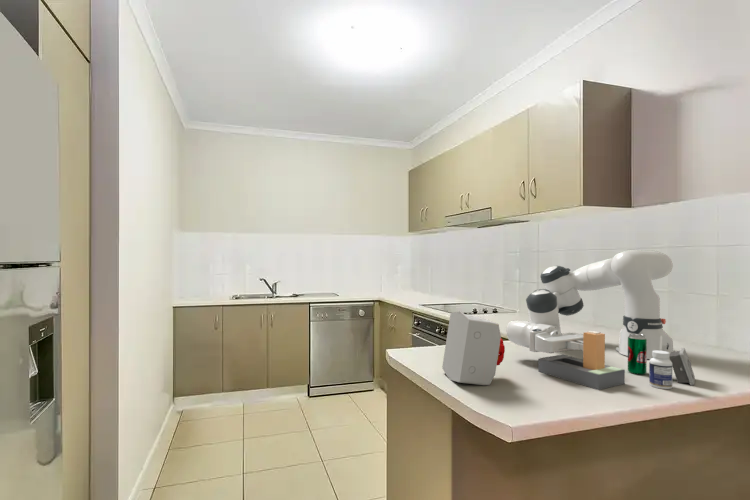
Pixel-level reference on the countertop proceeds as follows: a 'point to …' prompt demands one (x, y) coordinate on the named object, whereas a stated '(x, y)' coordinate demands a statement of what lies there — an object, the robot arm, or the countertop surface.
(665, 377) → the pill bottle
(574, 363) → the toggle switch
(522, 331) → the robot arm
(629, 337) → the soda can
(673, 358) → the electrical switch
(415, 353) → the countertop surface
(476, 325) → the electrical switch box
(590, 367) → the switch tab
